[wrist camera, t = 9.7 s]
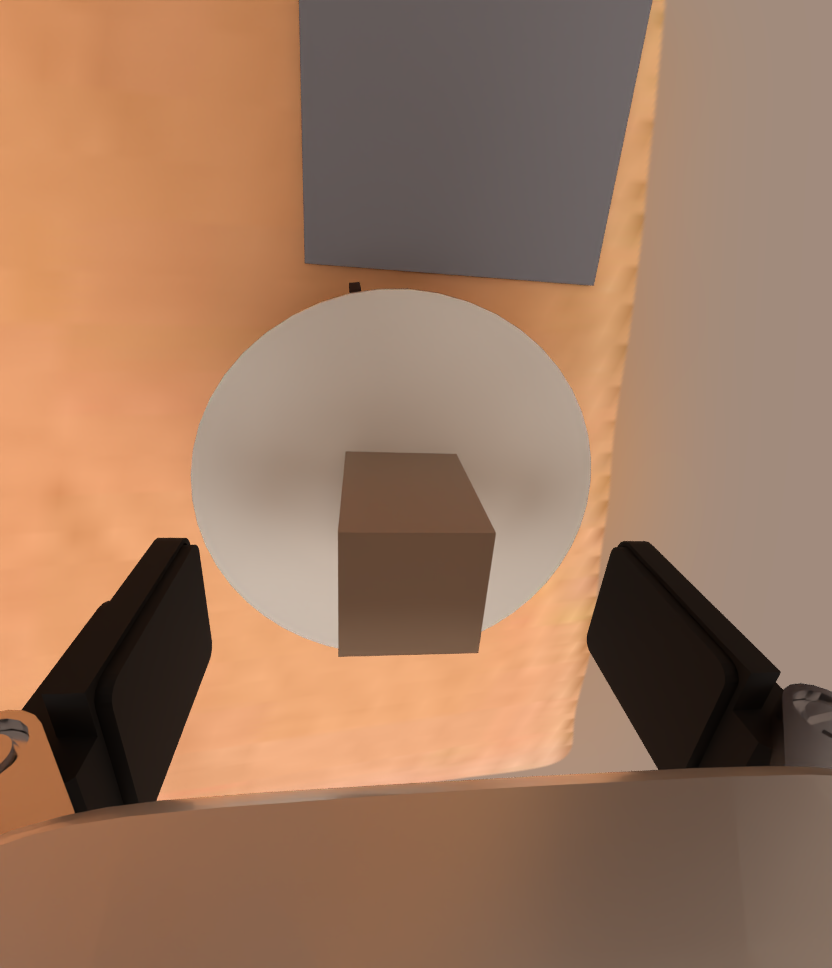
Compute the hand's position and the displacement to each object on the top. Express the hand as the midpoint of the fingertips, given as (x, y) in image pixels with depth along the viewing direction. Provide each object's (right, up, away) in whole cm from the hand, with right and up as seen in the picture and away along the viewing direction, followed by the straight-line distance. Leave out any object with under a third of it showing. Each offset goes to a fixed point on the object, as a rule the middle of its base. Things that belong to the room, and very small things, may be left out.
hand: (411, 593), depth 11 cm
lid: (-1, +2, +6) cm, 6 cm away
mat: (+2, +19, +9) cm, 21 cm away
